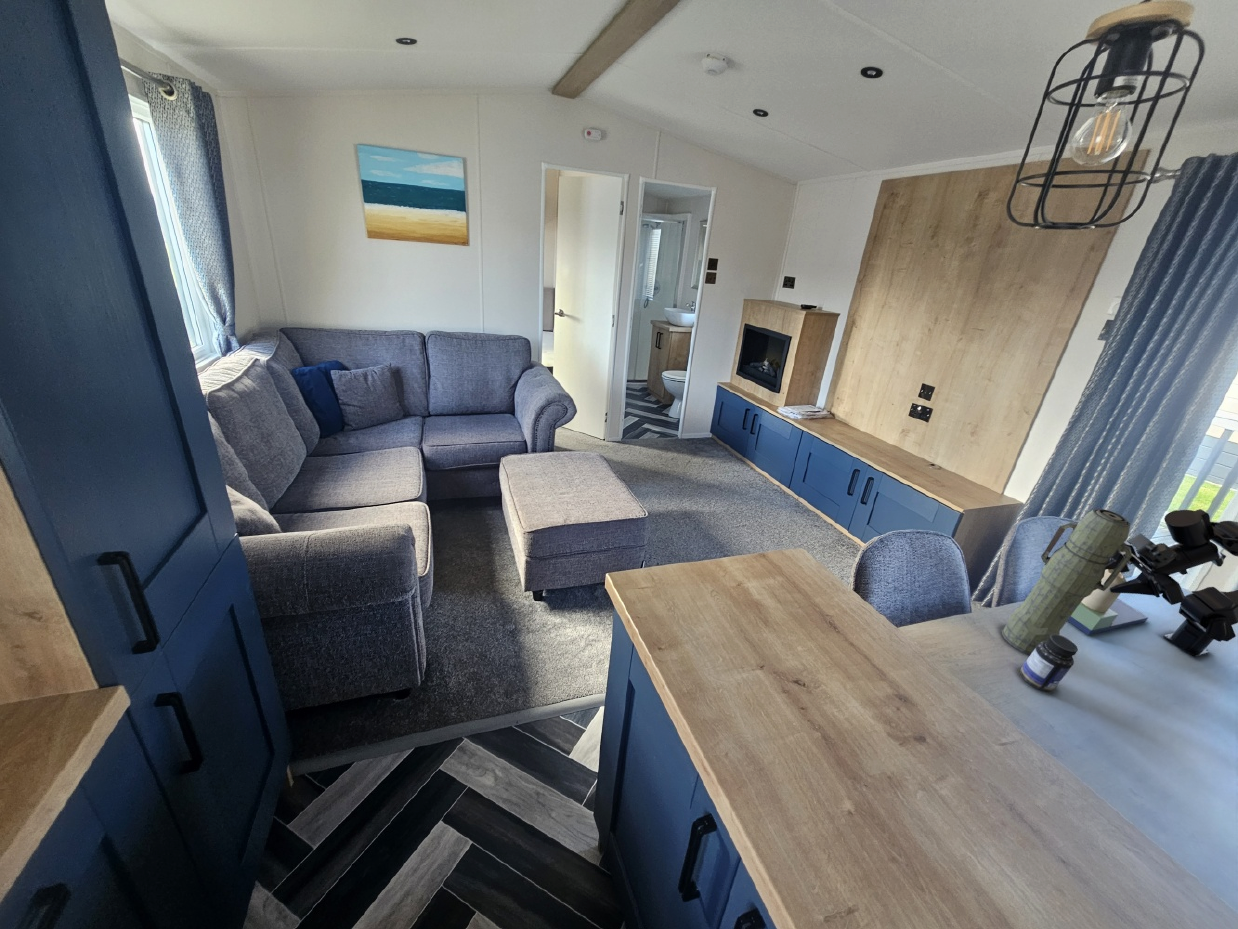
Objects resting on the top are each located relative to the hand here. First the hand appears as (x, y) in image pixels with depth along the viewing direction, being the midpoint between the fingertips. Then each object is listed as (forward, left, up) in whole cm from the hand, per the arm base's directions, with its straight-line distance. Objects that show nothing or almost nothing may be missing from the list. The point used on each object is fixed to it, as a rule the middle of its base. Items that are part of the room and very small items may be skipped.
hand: (1102, 582), depth 123 cm
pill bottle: (+32, +12, -12) cm, 37 cm away
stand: (-10, +1, -12) cm, 15 cm away
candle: (-1, +1, -7) cm, 7 cm away
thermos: (+23, +3, -12) cm, 27 cm away
